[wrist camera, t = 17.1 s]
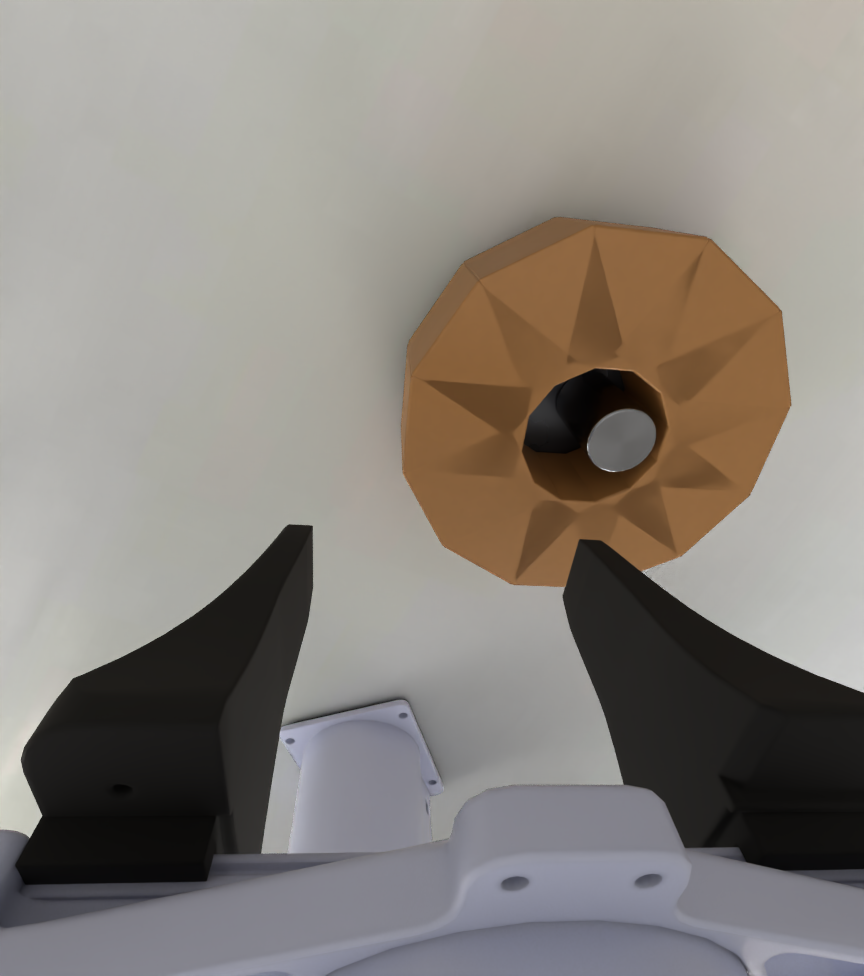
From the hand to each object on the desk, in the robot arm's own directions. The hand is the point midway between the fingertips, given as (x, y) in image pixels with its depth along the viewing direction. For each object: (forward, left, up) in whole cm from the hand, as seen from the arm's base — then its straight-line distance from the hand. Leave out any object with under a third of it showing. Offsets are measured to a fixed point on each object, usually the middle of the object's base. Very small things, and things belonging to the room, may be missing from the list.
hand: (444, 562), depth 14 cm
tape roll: (0, -6, -9) cm, 10 cm away
